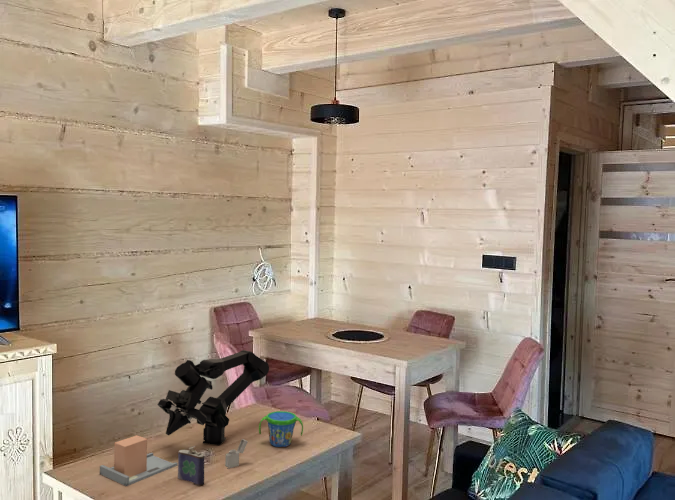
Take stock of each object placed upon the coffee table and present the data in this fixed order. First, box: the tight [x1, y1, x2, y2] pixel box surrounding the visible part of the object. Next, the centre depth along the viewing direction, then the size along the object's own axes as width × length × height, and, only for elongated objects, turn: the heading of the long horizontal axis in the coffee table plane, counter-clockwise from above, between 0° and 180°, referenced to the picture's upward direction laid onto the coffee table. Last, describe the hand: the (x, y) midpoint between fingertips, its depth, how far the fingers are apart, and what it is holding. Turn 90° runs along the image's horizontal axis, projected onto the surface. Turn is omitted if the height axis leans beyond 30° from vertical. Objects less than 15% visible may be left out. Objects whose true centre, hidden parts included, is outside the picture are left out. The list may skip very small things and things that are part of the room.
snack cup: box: [258, 410, 304, 448], centre depth 213 cm, size 16×10×10 cm
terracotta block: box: [113, 434, 148, 478], centre depth 184 cm, size 8×5×10 cm, turn 145°
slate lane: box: [99, 452, 178, 487], centre depth 187 cm, size 19×13×3 cm
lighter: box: [225, 438, 249, 470], centre depth 194 cm, size 7×2×8 cm, turn 129°
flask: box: [177, 445, 205, 487], centre depth 181 cm, size 9×3×11 cm, turn 65°
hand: (167, 434), depth 195 cm, fingers closed
